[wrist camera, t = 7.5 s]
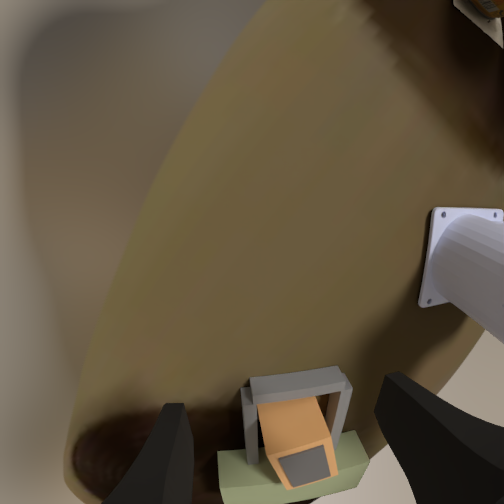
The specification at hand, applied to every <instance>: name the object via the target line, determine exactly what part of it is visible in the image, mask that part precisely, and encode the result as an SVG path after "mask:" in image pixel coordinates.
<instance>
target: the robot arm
mask: <svg viewBox="0 0 504 504" xmlns="http://www.w3.org/2000/svg"><path fill="white" fill-rule="evenodd" d="M442 212H443V215H442V217H441V214H442ZM503 214H504V213H503V210H501V209H489V208H455V207H436V208H434V209H433V211H432V214H431V224H430V233H429V241H428V248H427V255H426V262H425V268H424V274H423V280H422V285H421V290H420V295H419V300H418V305H419V306H420V307H422V308H425V307H430V306H434V305H439V304H443V303H448V302H451V303H452V304H454V305H455V306H456V307H458V308H459V309H460V310H462V311H463V312H464V313H465V314H467V315H468V316H469V317H471V318H472V319H473V320H475V321H476V322H477V323H478V324H480V325H481V326H482V327H483V328H485V329H486V330H487V331H489V332H490V333H491V334H492V335H493V336H495V337H496V338H497V339H498V340H500V341H501V342H502V343H503V344H504V222H503ZM428 300H429V301H428ZM374 413H375V415H376V418H377V421H378V424H379V426H380V429H381V431H382V433H383V435H384V437H385V439H386V441H387V442H388V444H389V446H390V448H391V449H392V451H393V453H394V455H395V457H396V458H397V460H398V462H399V464H400V466H401V467H402V469H403V471H404V472H405V475H406V477H407V479H408V481H409V484H410V486H411V489H412V492H413V494H414V497H415V500H416V503H417V504H504V427H501V426H498V425H494V424H492V423H489V422H486V421H484V420H481V419H479V418H476V417H474V416H472V415H470V414H468V413H466V412H464V411H462V410H460V409H458V408H456V407H454V406H453V405H451V404H449V403H448V402H446V401H444V400H442V399H441V398H439V397H438V396H436V395H435V394H433V393H431V392H430V391H428V390H427V389H425V388H424V387H422V386H421V385H419V384H418V383H416V382H415V381H413V380H412V379H410V378H409V377H407V376H405V375H404V374H402V373H401V372H399V371H398V372H395V373H391V374H387V375H385V378H384V381H383V384H382V388H381V391H380V394H379V397H378V400H377V403H376V406H375V409H374ZM193 473H194V444H193V435H192V432H191V428H190V425H189V421H188V418H187V414H186V410H185V406H184V403H166V404H165V405H164V406H163V408H162V410H161V413H160V415H159V417H158V419H157V421H156V423H155V425H154V427H153V429H152V431H151V433H150V435H149V437H148V439H147V440H146V442H145V444H144V446H143V448H142V449H141V451H140V453H139V454H138V456H137V458H136V459H135V461H134V462H133V464H132V465H131V467H130V468H129V470H128V471H127V473H126V474H125V476H124V477H123V478H122V480H121V481H120V482H119V484H118V485H117V486H116V487H115V489H114V490H113V491H112V492H111V494H110V495H109V496H108V497H107V498H106V499H105V500H104V501H103V502H102V503H101V504H191V501H192V487H193Z"/></svg>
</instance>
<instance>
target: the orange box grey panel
mask: <svg viewBox="0 0 504 504" xmlns="http://www.w3.org/2000/svg"><path fill="white" fill-rule="evenodd" d="M257 409H258V414H259V419H260V424H261V430H262V435H263V440H264V445H265V450H266V455H267V457H268V459H269V461H270V463H271V464H272V466H273V468H274V470H275V471H276V473H277V475H278V476H279V478H280V480H281V482H282V483H283V485H284V487H285V488H286V490H291V489H295V488H298V487H302V486H305V485H309V484H312V483H315V482H318V481H322V480H325V479H328V478H331V477H334V476H336V475H338V470H337V464H336V459H335V453H334V448H333V443H332V438H331V435H330V432H329V430H328V427H327V425H326V422H325V420H324V417H323V415H322V412H321V410H320V407H319V405H318V402H317V400H316V398H315V396H312V397H306V398H300V399H294V400H287V401H280V402H272V403H264V404H257Z"/></svg>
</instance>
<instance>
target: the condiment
mask: <svg viewBox="0 0 504 504" xmlns="http://www.w3.org/2000/svg"><path fill="white" fill-rule="evenodd" d="M453 1H454V6H455V7H457V8H458V9H459V10H460V11H461V12H462V13H463V14H465V15H466V16H467V17H468V18H469V19H471V20H472V22H474V23H475V24H476V25H477V26H478V27H480V28H481V29H482V30H483V31H484V32H485V33H486V34H488V35H489V36H490V37H491V38H492V39H493V40H494V41H495V42H496V43H498V44H499V45H500V46H501V47H502V48H503V39H502V36H503V34H502V26H501V20H500V18H501V17H504V0H453ZM489 20H490V21H491V22H489V23H488V22H487V21H489Z"/></svg>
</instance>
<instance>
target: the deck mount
mask: <svg viewBox="0 0 504 504" xmlns="http://www.w3.org/2000/svg"><path fill="white" fill-rule="evenodd" d="M352 390H353V388H352V386H351V384H350V382H349V380H348V379H347V377H346V375H345V373H341V371H340V369H339V367H338V366H331V367H325V368H320V369H313V370H307V371H300V372H293V373H286V374H278V375H270V376H261V377H251V378H250V387H242V388H241V401H242V413H243V425H244V436H245V447H246V449H241V450H228V451H217V455H218V471H219V486H220V491H221V494H222V498H223V501H224V504H285V503H291V502H297V501H302V500H307V499H312V498H317V497H321V496H325V495H329V494H333V493H337V492H341V491H345V490H348V489H352V488H355V487H357V485H358V484H359V482H360V480H361V478H362V476H363V474H364V472H365V471H366V469H367V466H368V465H369V463H370V460H369V458H368V456H367V454H366V452H365V450H364V448H363V446H362V443H361V441H360V439H359V437H358V435H357V433H356V431H355V430H352V431H348V432H344V433H341V432H342V428H343V425H344V421H345V417H346V414H347V410H348V406H349V402H350V398H351V394H352ZM329 393H330V395H329V400H328V405H327V410H326V415H325V422H326V425H327V427H328V430H329V432H330V435H331V438H332V443H333V448H334V453H335V459H336V464H337V470H338V475H336V476H334V477H331V478H328V479H325V480H322V481H318V482H315V483H312V484H309V485H305V486H302V487H298V488H295V489H291V490H286V488H285V487H284V485H283V483H282V482H281V480H280V478H279V476H278V475H277V473H276V471H275V470H274V468H273V466H272V464H271V463H270V461H269V459H268V457H267V455H266V450H265V447H261V448H258V429H257V404H264V403H272V402H280V401H287V400H294V399H300V398H306V397H312V396H318V395H323V394H329Z"/></svg>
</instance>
